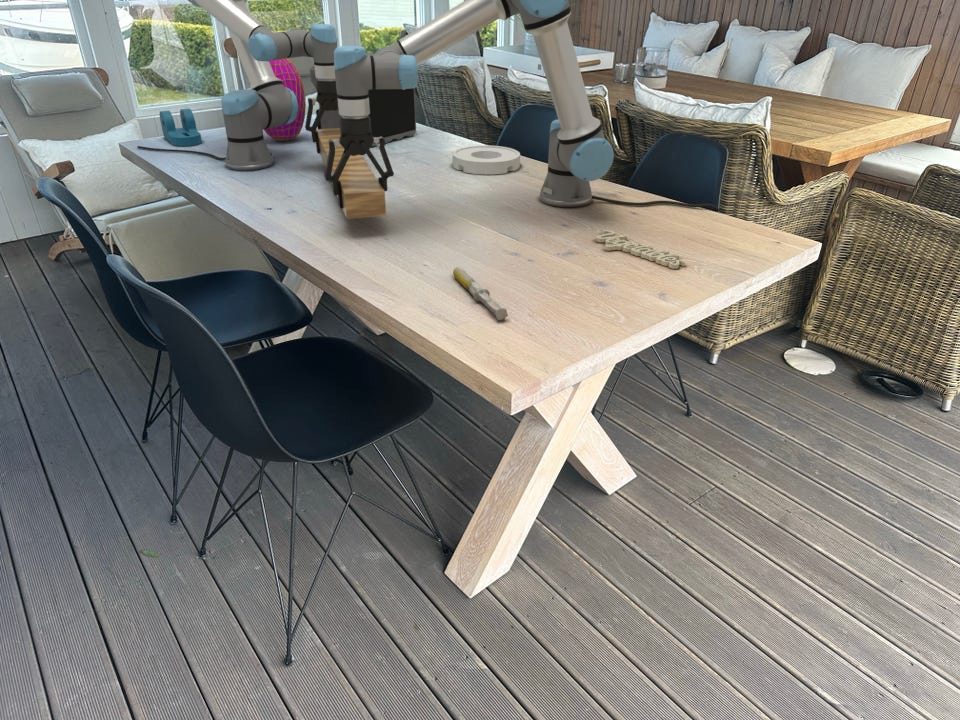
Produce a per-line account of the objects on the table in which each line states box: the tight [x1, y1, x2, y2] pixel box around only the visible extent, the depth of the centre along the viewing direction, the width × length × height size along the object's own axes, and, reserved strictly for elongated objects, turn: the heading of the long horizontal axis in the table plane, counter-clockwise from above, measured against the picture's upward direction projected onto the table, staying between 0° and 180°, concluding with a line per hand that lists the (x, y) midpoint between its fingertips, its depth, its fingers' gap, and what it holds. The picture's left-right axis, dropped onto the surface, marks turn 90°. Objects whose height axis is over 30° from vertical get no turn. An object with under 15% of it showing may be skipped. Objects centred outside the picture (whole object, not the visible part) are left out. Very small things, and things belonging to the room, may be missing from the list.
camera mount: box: [159, 108, 203, 147], centre depth 259 cm, size 18×10×10 cm, turn 35°
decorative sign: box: [595, 229, 686, 270], centre depth 168 cm, size 26×1×10 cm
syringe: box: [452, 266, 509, 321], centre depth 145 cm, size 25×4×3 cm, turn 21°
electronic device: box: [309, 52, 417, 148], centre depth 260 cm, size 37×22×30 cm, turn 144°
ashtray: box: [451, 144, 521, 176], centre depth 235 cm, size 23×23×4 cm
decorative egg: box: [263, 58, 307, 142], centre depth 257 cm, size 19×19×30 cm
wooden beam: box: [316, 128, 387, 220], centre depth 201 cm, size 74×10×6 cm, turn 17°
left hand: (334, 151), depth 227 cm, fingers closed on wooden beam, 10 cm apart
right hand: (361, 205), depth 178 cm, fingers closed on wooden beam, 10 cm apart
